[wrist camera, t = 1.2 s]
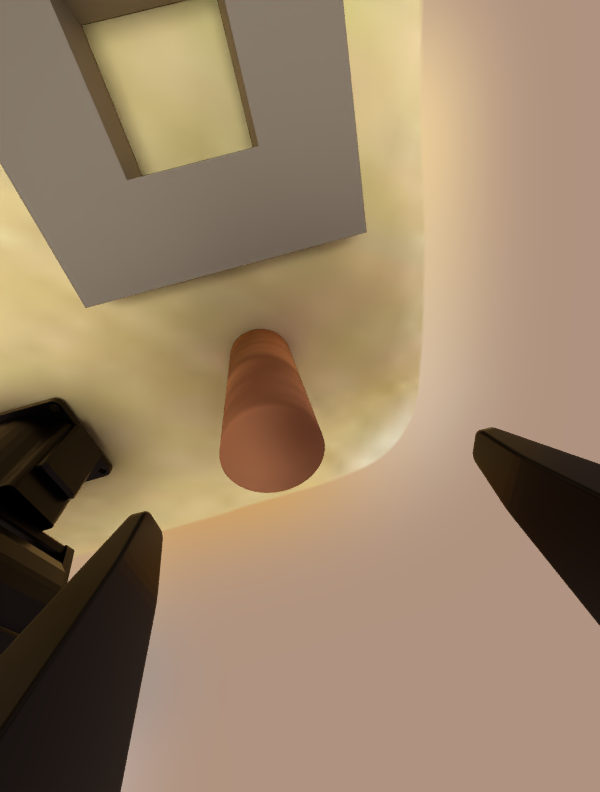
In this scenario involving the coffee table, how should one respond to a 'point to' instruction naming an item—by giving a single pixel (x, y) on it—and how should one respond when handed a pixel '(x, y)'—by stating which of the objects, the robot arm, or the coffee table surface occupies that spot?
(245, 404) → the peg
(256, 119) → the socket deck
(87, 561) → the robot arm
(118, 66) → the coffee table surface
